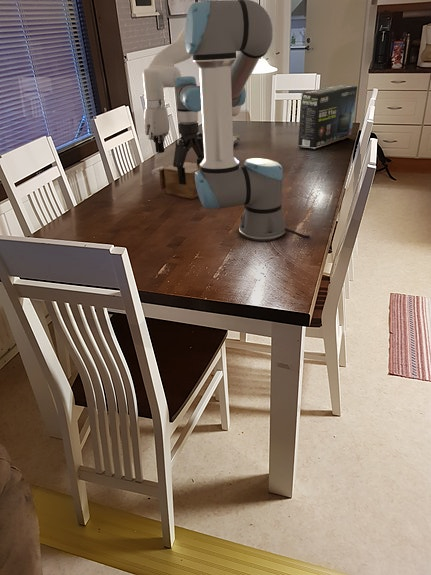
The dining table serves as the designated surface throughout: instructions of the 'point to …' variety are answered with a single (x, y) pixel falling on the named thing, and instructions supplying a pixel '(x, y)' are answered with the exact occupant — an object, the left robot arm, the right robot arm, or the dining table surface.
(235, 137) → the fossil
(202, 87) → the right robot arm
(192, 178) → the wooden block
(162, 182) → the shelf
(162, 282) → the dining table surface
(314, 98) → the router box
